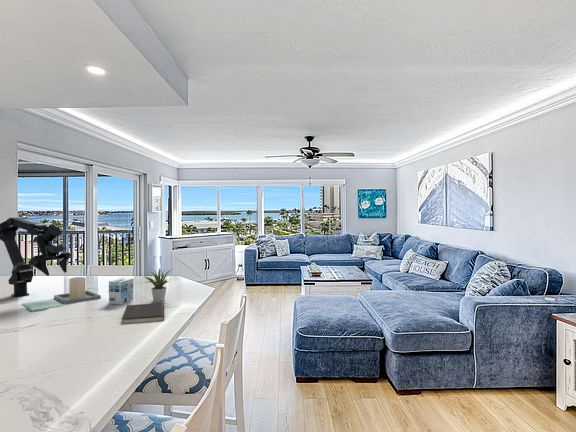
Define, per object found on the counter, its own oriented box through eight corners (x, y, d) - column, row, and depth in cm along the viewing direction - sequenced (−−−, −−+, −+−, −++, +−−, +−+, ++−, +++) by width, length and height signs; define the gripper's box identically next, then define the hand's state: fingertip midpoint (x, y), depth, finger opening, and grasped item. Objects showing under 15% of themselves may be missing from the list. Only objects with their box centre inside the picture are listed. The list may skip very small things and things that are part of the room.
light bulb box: (120, 304, 181) (120, 282, 181) (108, 304, 183) (108, 281, 183) (134, 299, 192) (134, 278, 192) (122, 298, 193) (122, 277, 193)
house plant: (165, 295, 202) (165, 264, 201) (181, 299, 193) (181, 266, 192) (139, 300, 191) (139, 267, 190) (155, 304, 182) (155, 270, 181)
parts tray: (54, 299, 191) (54, 295, 191) (88, 294, 203) (88, 290, 203) (65, 305, 180) (65, 300, 180) (100, 299, 192) (100, 295, 192)
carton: (69, 299, 189) (69, 278, 189) (76, 296, 194) (76, 276, 194) (78, 299, 188) (78, 279, 188) (85, 297, 193) (85, 277, 193)
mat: (22, 305, 178) (22, 303, 178) (51, 301, 187) (51, 299, 187) (32, 311, 168) (32, 310, 168) (62, 306, 176) (62, 305, 176)
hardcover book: (121, 324, 152) (121, 319, 152) (126, 310, 174) (126, 305, 174) (164, 321, 157) (164, 316, 157) (164, 307, 179) (164, 302, 179)
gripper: (36, 239, 180) (49, 269, 178) (72, 236, 198) (83, 263, 195) (22, 250, 184) (35, 280, 181) (58, 247, 201) (70, 273, 199)
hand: (57, 273), depth 189 cm, fingers open, 9 cm apart
